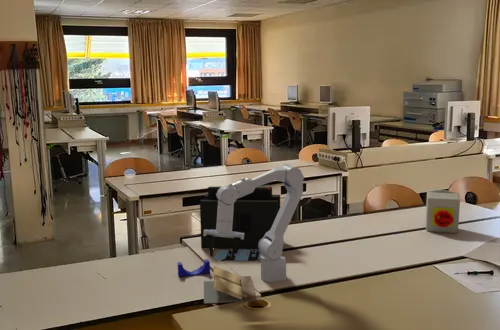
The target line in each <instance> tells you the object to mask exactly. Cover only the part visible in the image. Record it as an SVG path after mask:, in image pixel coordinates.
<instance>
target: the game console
mask: <svg viewBox="0 0 500 330" xmlns="http://www.w3.org/2000/svg"><path fill="white" fill-rule="evenodd" d="M220 187H221V186H208V187H207V193H205V194H204V197H203V199H200V201H199V213H200V214H199V215H200V217H199V219H200V246H201V247H200V248H209V246H208V243H207V241H206V236H203V233H204V230H216V225H217V210H218V198H217V196H216V193H217V191H218V189H219V188H220ZM280 207H281V194H273V186H258V187H256V188H255V189H254V191H253V192H252V193H250V194H248V195H245V196H243V197H241V198H238V199H236V201H235V202H234V207H233V208H234V210H233V225H232V231H235V232H240V233H244V239H241V240H240V243H239V244H238V246H237V248H236V251H235V255H234V258H232V251H233V239H234V238H227V237H216V236H214V245H213V248H214V249H213V250H217V252H216V253H215V256H214V257H213V260H214V259H215V260H221V261H224V260H226V261H242V262H243V261H245V262H246V261H247V262H251V261H253V262H255V261H261V251H260V250H259V248H258V244H259V241H260V240H261V239H262V238H263V237H264V236H265V233H266V232H268V231H269V230H270V229H271V227H272V225H273V223H274V220H275V218H276V216H277V214H278V212H279V209H280ZM215 260H214V261H215Z"/></svg>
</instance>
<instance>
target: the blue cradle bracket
mask: <svg viewBox="0 0 500 330" xmlns="http://www.w3.org/2000/svg"><path fill="white" fill-rule="evenodd" d="M206 273H207V275H211V263H210V259H209V258H206V259H205V258H204V261H203V264H202V265H200V267H198V268H197V269H193V270H192V271H189V270H187V269H185V268H184V266H183V263H182V261H177V276H178V278H181V276H183V277H186V278H187V277H194V276H204V275H205V274H206Z"/></svg>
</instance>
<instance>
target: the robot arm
mask: <svg viewBox="0 0 500 330" xmlns="http://www.w3.org/2000/svg"><path fill="white" fill-rule="evenodd" d="M304 179H305V176H304V174H303V172H302V170H301V169H300V168H299V167H294V166H292V165H289V164H288V163H286V164H285V163H284V164H281V165H279V166H278V165H277V166H275V167H274V168H272V169H270V170H268V171H266V172H264V173H262V174H260V175H258V176H255V177H254V178H253V177H252V179H251V178H249V177H241V178H240V180H238V181H235V182H233V183H231V182H230V183H228V186H227V185H222V186H219V187H220V188H219V189H218V191H217V193H216V196H217V198H218V210H217V225H216V230H204V233H203V236H206V241H207V243H208V246H209V249H208V250H209V253H210V255H209V256H210V257H213V256H214V249H213V245H214V236H216V237H227V238H234V239H233V251H232V258H234V255H235V251H236V248H237V246H238V244H239V243H240V240H241V239H244V233H240V232H235V231H232V225H233V210H234V208H233V207H234V202H235V201H236V199H238V198H241V197H243V196H245V195H248V194H250V193H252V192H253V191H254V189H255V188H256V187H262V186H263V185H267V184H269V183H272V182H274V181H278V182H282V183H283V185H284V187H285V189H286V191H287V192H286V194H285V196H284V199H283V201H282V203H281V204H280V209H279V212H278V214H277V216H276V218H275V220H274V223H273V225H272V227H271V229H270V230H269V231H268V232H266V233H265V236H264V237H263V238H262V239H261V240H260V241H259V244H258V248H259V250H260V251H261V260H260V281H263V282H266V283H267V282H268V283H274V282H284V281H287V260H286V256H282V254H283V247H284V245H285V240H284V235H285V233H286V231H287V229H288V227H289V225H290V222H291V220H292V218H293V215H294V213H295V211H296V209H297V207H298V205H299V203H300V201H301V198H302V196H303V193H304V182H303V181H304Z"/></svg>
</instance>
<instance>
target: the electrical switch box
mask: <svg viewBox="0 0 500 330" xmlns="http://www.w3.org/2000/svg"><path fill="white" fill-rule="evenodd" d="M460 201H461V199H460V196H459V192H455V191H451V190H447V189H446V190H445V189H439V190H429V191H427V192H426V206H425V207H426V211H425V231H426V232H433V233H448V234H449V233H450V234H457V233H458V232H459V223H460V208H461V207H460V205H461V202H460Z"/></svg>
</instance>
